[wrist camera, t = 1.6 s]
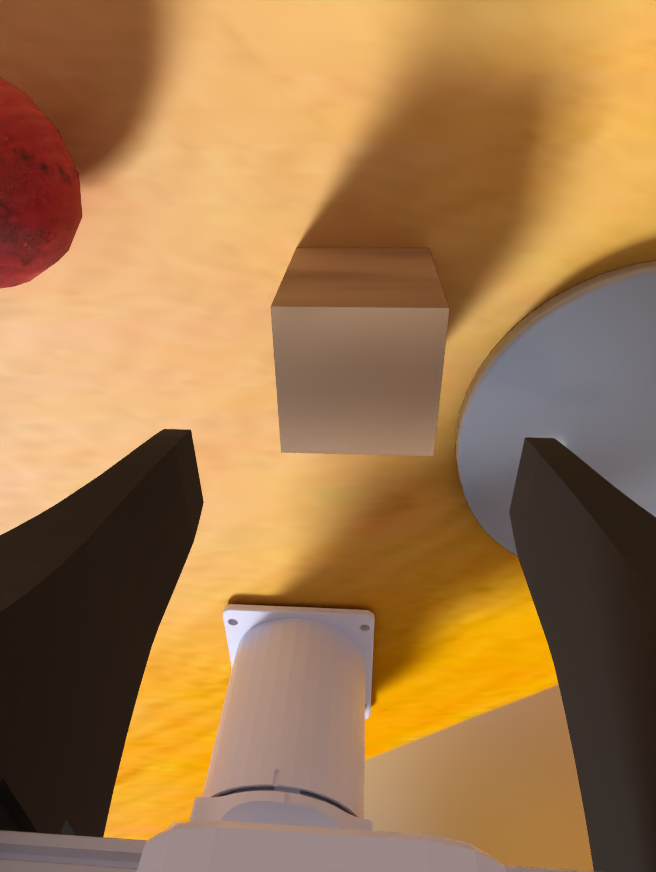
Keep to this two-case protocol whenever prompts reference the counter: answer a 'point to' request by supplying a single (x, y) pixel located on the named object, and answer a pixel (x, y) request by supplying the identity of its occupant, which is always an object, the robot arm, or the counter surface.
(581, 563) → the robot arm
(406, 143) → the counter surface
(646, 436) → the plate
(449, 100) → the counter surface
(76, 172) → the onion
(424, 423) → the walnut stool block
